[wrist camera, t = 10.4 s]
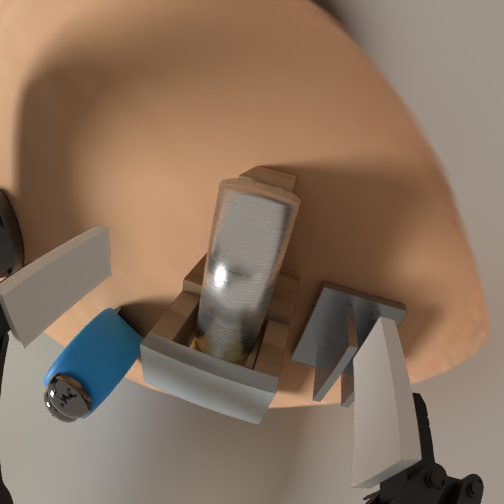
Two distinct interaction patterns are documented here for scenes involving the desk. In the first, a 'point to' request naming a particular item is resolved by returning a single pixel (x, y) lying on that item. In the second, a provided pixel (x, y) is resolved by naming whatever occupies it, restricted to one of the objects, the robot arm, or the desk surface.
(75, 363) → the alarm clock
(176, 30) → the desk surface
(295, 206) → the axle
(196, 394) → the beam
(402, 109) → the desk surface
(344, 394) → the grey slotted plate stand
